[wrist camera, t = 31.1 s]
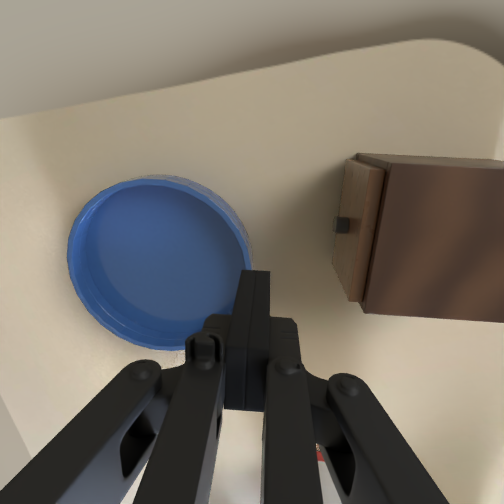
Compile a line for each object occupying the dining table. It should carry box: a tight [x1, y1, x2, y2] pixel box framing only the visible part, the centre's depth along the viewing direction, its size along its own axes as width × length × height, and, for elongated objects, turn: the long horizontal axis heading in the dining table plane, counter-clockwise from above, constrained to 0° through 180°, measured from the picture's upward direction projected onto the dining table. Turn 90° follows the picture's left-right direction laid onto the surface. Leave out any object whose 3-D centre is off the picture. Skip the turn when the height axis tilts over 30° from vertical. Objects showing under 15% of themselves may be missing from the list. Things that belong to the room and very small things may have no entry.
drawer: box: [332, 159, 386, 302], centre depth 31 cm, size 14×11×9 cm
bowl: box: [67, 175, 253, 351], centre depth 38 cm, size 20×20×4 cm
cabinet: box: [356, 153, 504, 323], centre depth 31 cm, size 14×13×11 cm
